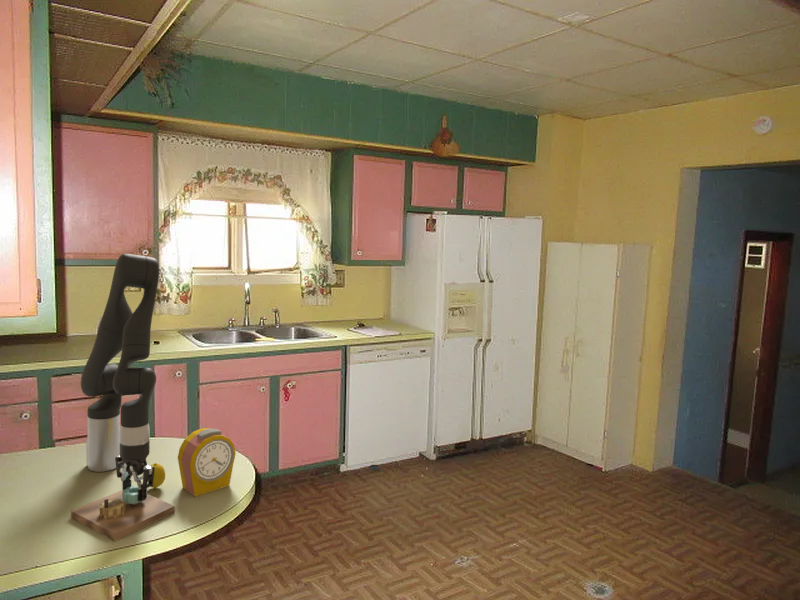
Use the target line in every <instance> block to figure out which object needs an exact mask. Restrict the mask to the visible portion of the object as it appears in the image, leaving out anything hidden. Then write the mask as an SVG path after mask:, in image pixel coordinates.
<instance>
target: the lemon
mask: <svg viewBox="0 0 800 600" xmlns="http://www.w3.org/2000/svg"><path fill="white" fill-rule="evenodd" d="M148 466H149V467H152V466H154V468H155V470H154V479H153V486H151V487H150V488H153V489H157V488H158V487H161V486H162V485H163V483H164V482H165V479H166V470H165V468H164V467H163V465H162V464H160V463H157V462H154V463H153V464H151V465H148ZM148 482H149V481H148Z"/></svg>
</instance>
